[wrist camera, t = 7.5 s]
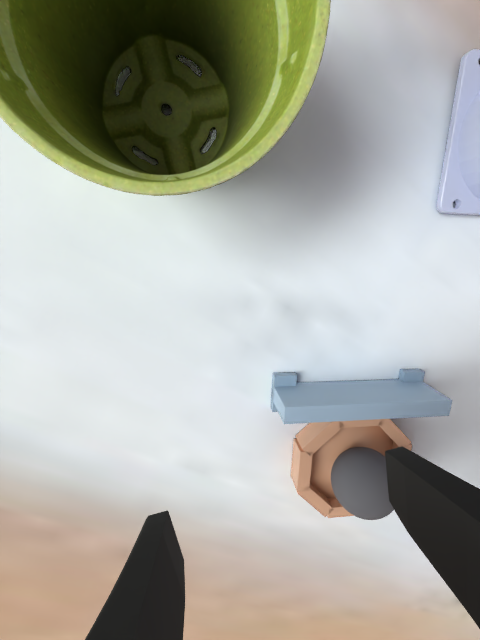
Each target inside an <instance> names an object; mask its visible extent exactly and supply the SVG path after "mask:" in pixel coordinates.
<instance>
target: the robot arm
mask: <svg viewBox="0 0 480 640" xmlns="http://www.w3.org/2000/svg"><path fill="white" fill-rule="evenodd" d="M478 60H480V49H472V50H471V51H469V52H468V53H466V54H465V55H464V56H463V57H462V59H461V62H460V68H459V74H458V80H457V86H456V91H455V97H454V103H453V109H452V115H451V121H450V127H449V133H448V139H447V145H446V151H445V156H444V162H443V168H442V174H441V180H440V186H439V192H438V198H437V204H436V207H437V210H438V211H439V212H440V213H445V214H466V215H480V65H479V62H478ZM454 201H455V203H456V205H455V207H454V208H453V202H454ZM385 459H386V471H387V482H388V493H389V501H390V503H391V505H392V506H393V508H394V510H395V512H396V513H397V515H398V517H399V518H400V520H401V522H402V523H403V525H404V526H405V528H406V530H407V531H408V533H409V534H410V536H411V537H412V538H413V540H414V541H415V543H416V544H417V545H418V547H419V548H420V549H421V551H422V552H423V553H424V555H425V556H426V557H427V559H428V560H429V561H430V563H431V564H432V565H433V567H434V568H435V569H436V571H437V572H438V573H439V574H440V576H441V577H442V578H443V580H444V581H445V582H446V584H447V585H448V586H449V588H450V589H451V590H452V592H453V593H454V594H455V596H456V597H457V598H458V600H459V601H460V602H461V604H462V605H463V606H464V608H465V609H466V610H467V612H468V613H469V614H470V616H471V617H472V619H473V620H474V621H475V623H476V624H477V626H478V627H479V628H480V489H479V488H477V487H475V486H473V485H471V484H469V483H467V482H465V481H464V480H462V479H460V478H458V477H456V476H454V475H453V474H451V473H449V472H447V471H445V470H444V469H442V468H440V467H438V466H436V465H435V464H433V463H431V462H429V461H428V460H426V459H424V458H422V457H420V456H419V455H417V454H415V453H413V452H412V451H410V450H408V449H406V448H404V447H398V448H394V449H391V450H387V451H385ZM184 611H185V577H184V559H183V556H182V552H181V549H180V546H179V543H178V540H177V537H176V534H175V531H174V528H173V525H172V521H171V518H170V515H169V512H168V511H164V512H161V513H157V514H153V515H150V516H148V517H147V519H146V521H145V523H144V525H143V527H142V530H141V532H140V534H139V536H138V538H137V541H136V543H135V545H134V547H133V549H132V551H131V553H130V555H129V558H128V560H127V562H126V564H125V566H124V568H123V570H122V572H121V574H120V576H119V578H118V580H117V582H116V584H115V586H114V588H113V590H112V592H111V594H110V595H109V597H108V599H107V601H106V603H105V605H104V606H103V608H102V610H101V612H100V614H99V616H98V617H97V619H96V621H95V623H94V625H93V626H92V628H91V630H90V632H89V634H88V635H87V637H86V639H85V640H183V627H184Z"/></svg>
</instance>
